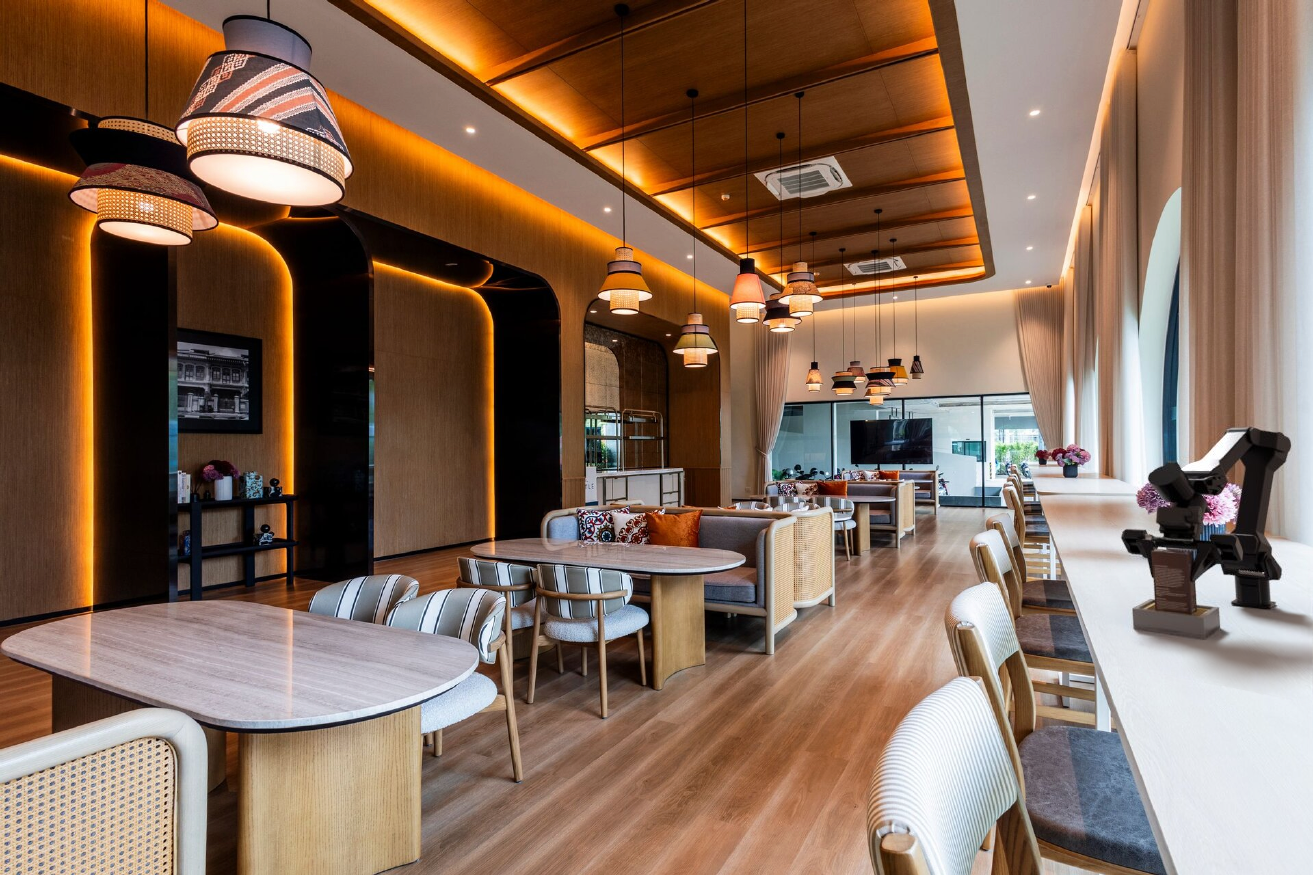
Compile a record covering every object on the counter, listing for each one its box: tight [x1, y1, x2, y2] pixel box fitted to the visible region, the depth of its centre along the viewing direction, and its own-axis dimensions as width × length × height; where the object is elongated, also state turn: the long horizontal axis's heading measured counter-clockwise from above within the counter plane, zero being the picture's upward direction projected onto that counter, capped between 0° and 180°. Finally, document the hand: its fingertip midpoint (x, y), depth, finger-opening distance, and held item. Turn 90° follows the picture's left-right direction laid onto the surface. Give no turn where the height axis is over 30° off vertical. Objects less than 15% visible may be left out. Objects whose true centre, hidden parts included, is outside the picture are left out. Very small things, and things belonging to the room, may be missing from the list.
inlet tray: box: [1132, 598, 1221, 640], centre depth 131 cm, size 11×11×4 cm
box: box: [1152, 548, 1198, 615], centre depth 131 cm, size 6×4×12 cm
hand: (1171, 578), depth 130 cm, fingers closed on box, 6 cm apart
